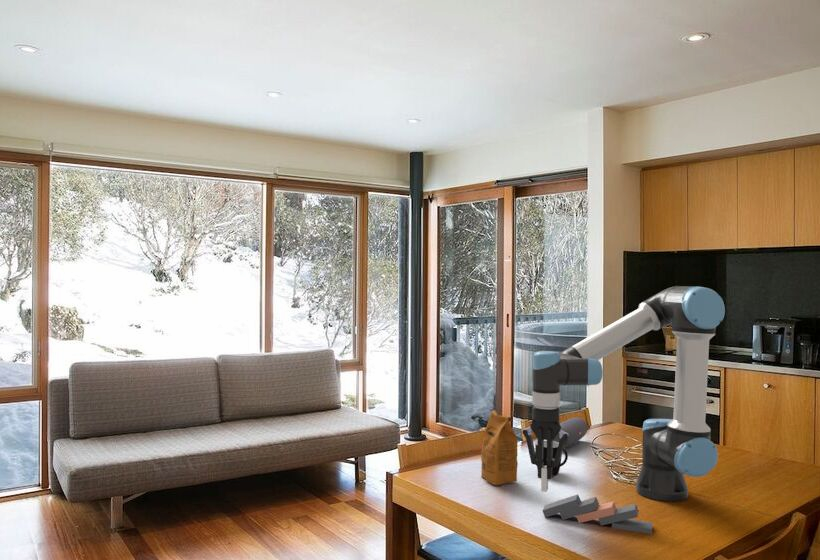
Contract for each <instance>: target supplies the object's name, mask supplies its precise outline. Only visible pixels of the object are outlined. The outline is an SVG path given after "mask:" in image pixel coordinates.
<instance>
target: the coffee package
mask: <svg viewBox="0 0 820 560" xmlns="http://www.w3.org/2000/svg"><path fill="white" fill-rule="evenodd" d="M512 421H513V419H512V417H510V416H505V415H504V416H503V415H498V413H497V412H496V410H492V411H491V413H490V416H489V419H488V422H487V425H486V427H485V430H484V433H483V439H482V445H481V446H482V447H481V454H480V456H481V460H480V461H481V478H484V479H485V481H486V482H487V483H489V484H492V485H493V486H500V485H503V484H511V483H512V484H513V483H514V482H517V481H518V475H517V474H518V465H519V464H518V437H517V435H516V433H515V430H514V429H513V428H512V426H511V423H510V422H512Z"/></svg>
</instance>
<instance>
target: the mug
mask: <svg viewBox="0 0 820 560" xmlns="http://www.w3.org/2000/svg"><path fill="white" fill-rule="evenodd" d="M558 445H559V443H558V442H555V441H553V462H554V460H555V456H556V452H557V449H558ZM534 449H535V453H536V458H537V460H538V441H536V442H535V444H534ZM562 452H564V460H563V461H562V456H563V455H562V454H563V453H562V454H561V458H560V461H559V464H558V466H557V467H553V468H552V477H555V476H558V475H559V472H560V469H561V467H562V466H563V467H564V465H565V464H567V461H568V457H569V454H568V452H567V449H564V448H563V450H562ZM543 463H544V464H543V466H547V440H544V452H543ZM536 468H537V470H538V467H537V466H536Z"/></svg>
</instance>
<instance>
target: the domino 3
mask: <svg viewBox="0 0 820 560" xmlns="http://www.w3.org/2000/svg"><path fill="white" fill-rule="evenodd" d="M616 508H617V507H616V504H615V501H614V500H613V501H609V502H605V503H599V505H598V508H597V510H594V511H591V512H587V513H584V514H581V515H577V516H575V517H576V519H577V521H578V524H581V523H585V522H590V521H594V520H597V519H598V518H602V517H606V516H610V515H614V514H615V511H616ZM598 520H599V519H598Z"/></svg>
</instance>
